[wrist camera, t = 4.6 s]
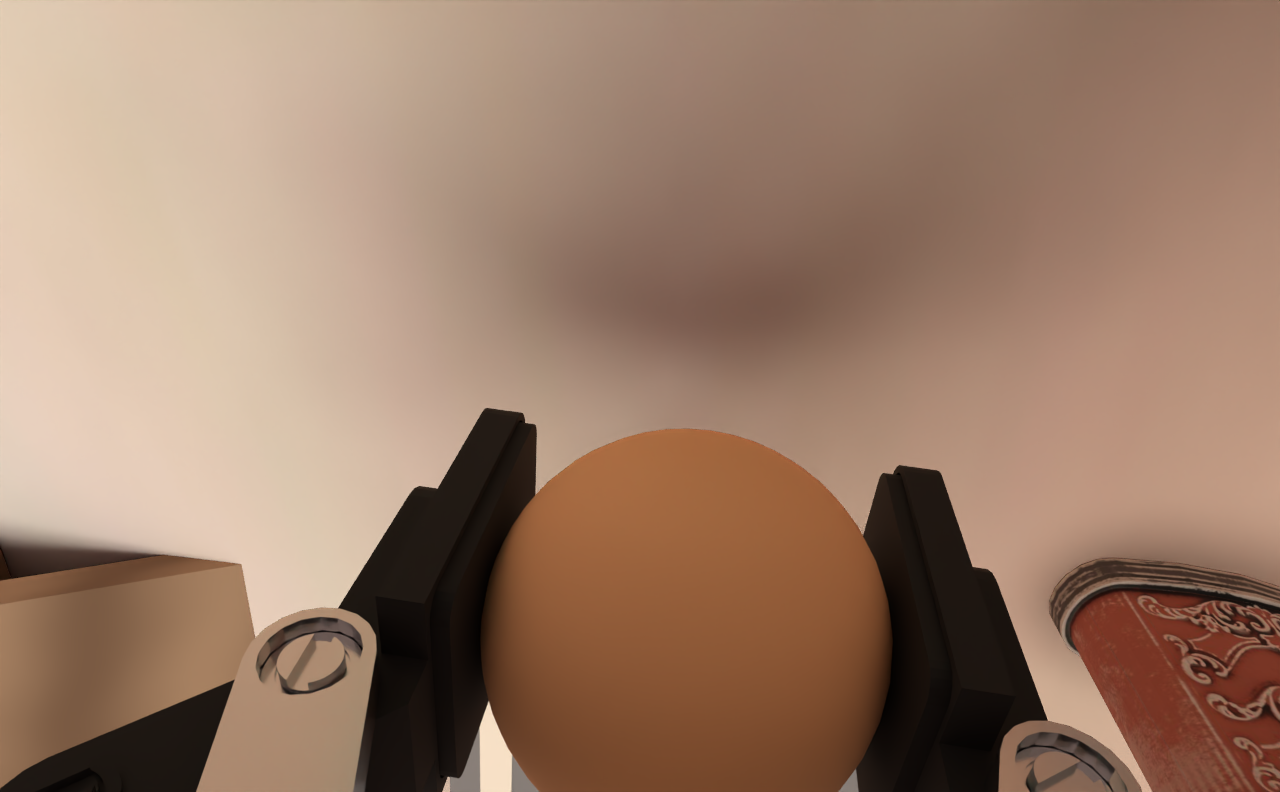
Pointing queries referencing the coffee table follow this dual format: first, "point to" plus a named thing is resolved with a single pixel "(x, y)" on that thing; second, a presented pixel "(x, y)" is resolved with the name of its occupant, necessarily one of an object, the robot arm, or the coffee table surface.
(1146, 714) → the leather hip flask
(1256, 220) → the coffee table surface
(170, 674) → the ramp
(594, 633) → the ball
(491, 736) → the box
